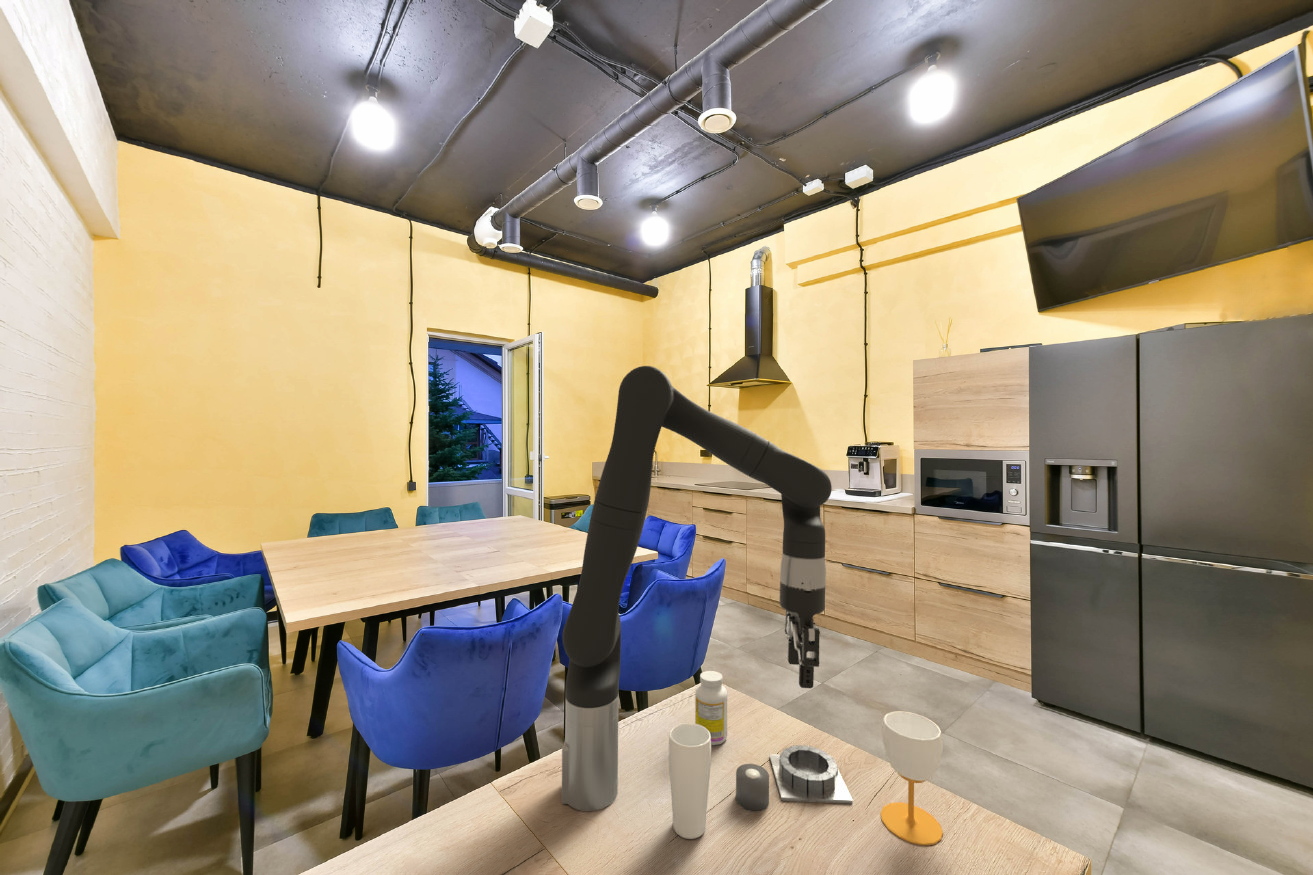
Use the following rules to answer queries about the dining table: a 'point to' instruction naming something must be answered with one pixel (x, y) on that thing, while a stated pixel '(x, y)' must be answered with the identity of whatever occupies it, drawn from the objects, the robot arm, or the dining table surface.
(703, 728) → the drinking glass
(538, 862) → the dining table surface
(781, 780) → the segmented ring on plate
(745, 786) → the cap
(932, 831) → the cup
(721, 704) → the supplement bottle
